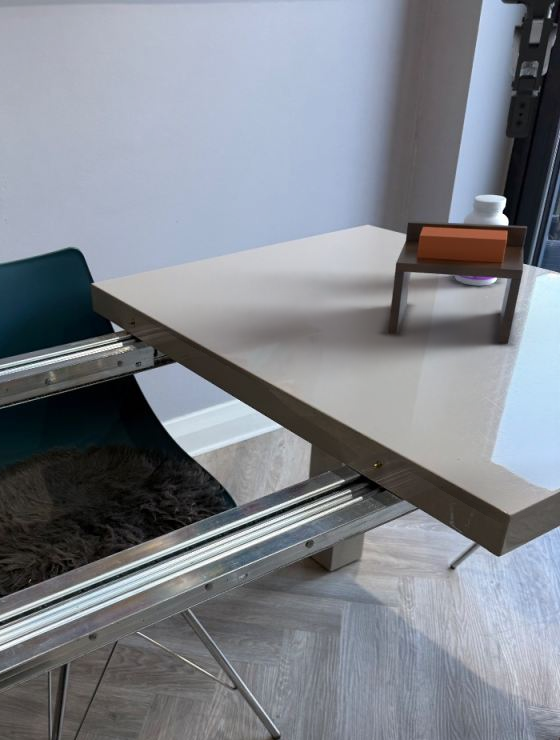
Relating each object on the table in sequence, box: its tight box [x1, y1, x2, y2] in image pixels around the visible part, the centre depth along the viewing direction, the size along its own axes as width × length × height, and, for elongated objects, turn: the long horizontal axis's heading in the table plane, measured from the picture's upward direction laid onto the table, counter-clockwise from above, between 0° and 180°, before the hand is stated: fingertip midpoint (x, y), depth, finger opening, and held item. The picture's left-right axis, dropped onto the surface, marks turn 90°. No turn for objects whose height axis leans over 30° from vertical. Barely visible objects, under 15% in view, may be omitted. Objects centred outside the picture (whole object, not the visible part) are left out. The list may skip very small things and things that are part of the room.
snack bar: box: [417, 227, 507, 263], centre depth 106 cm, size 11×4×3 cm, turn 70°
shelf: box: [387, 220, 528, 344], centre depth 110 cm, size 16×12×12 cm
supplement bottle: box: [454, 194, 509, 287], centre depth 125 cm, size 7×7×13 cm
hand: (516, 130), depth 83 cm, fingers open, 8 cm apart
